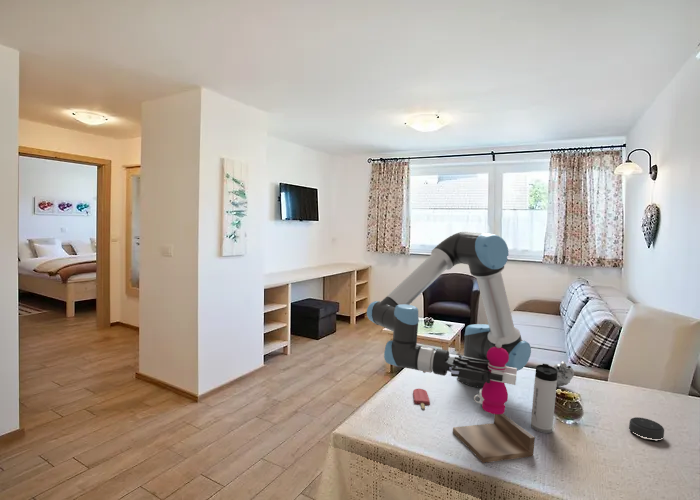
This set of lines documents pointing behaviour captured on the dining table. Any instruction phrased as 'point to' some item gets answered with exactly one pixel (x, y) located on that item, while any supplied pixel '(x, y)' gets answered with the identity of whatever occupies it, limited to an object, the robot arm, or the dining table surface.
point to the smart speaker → (646, 428)
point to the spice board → (497, 440)
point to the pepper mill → (495, 390)
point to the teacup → (479, 397)
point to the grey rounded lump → (563, 374)
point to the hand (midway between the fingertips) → (515, 376)
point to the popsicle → (421, 397)
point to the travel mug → (544, 398)
